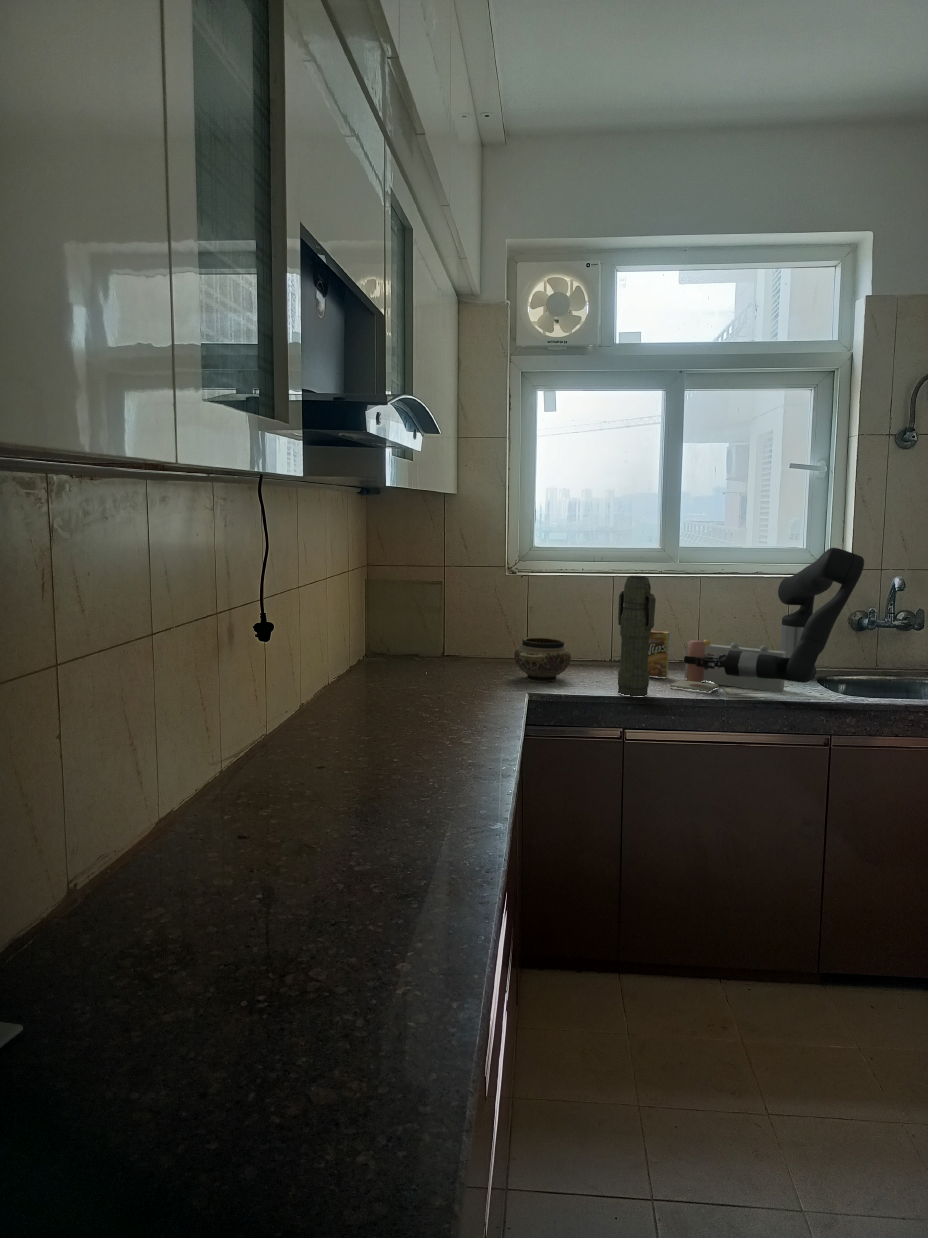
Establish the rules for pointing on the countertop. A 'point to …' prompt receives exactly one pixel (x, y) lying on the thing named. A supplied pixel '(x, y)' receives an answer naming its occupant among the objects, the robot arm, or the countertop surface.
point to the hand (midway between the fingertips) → (687, 658)
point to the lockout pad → (694, 685)
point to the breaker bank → (746, 682)
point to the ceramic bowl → (542, 658)
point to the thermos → (635, 635)
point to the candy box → (658, 653)
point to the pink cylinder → (693, 671)
